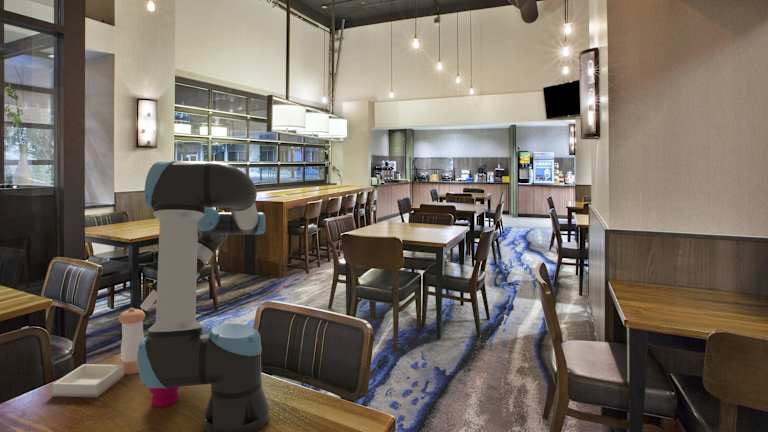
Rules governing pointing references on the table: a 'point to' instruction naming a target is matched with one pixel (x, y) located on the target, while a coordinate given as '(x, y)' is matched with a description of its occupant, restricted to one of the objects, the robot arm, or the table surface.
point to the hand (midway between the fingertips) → (154, 313)
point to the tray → (88, 380)
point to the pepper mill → (164, 396)
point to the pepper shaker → (131, 338)
